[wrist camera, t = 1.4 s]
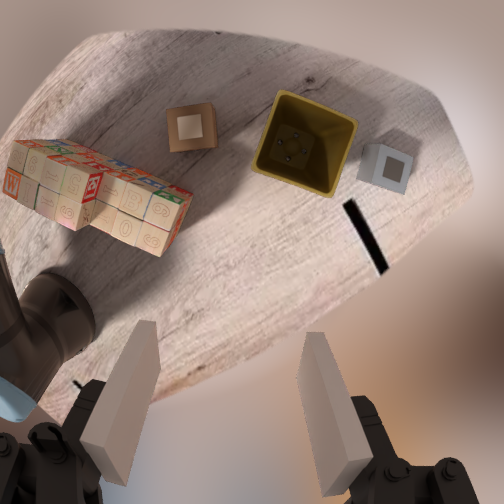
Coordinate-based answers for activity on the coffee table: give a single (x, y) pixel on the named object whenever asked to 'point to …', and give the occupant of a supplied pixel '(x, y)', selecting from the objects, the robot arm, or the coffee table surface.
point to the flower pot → (304, 144)
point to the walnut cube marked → (192, 127)
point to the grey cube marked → (385, 167)
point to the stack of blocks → (95, 193)
